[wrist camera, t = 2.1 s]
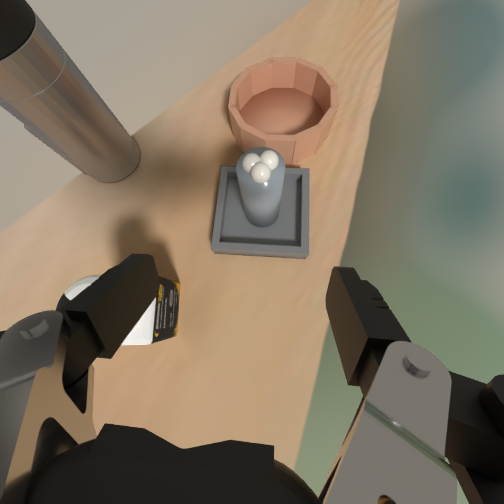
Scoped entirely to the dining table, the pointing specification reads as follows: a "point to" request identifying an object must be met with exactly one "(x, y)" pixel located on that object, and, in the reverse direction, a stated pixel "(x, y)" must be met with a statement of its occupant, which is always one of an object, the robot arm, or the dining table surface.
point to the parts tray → (268, 238)
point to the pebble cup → (261, 184)
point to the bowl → (283, 107)
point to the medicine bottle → (152, 321)
